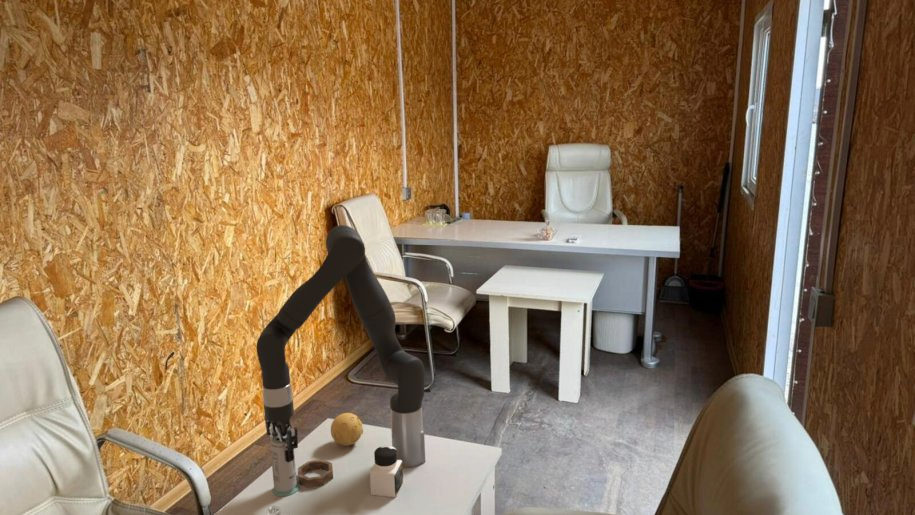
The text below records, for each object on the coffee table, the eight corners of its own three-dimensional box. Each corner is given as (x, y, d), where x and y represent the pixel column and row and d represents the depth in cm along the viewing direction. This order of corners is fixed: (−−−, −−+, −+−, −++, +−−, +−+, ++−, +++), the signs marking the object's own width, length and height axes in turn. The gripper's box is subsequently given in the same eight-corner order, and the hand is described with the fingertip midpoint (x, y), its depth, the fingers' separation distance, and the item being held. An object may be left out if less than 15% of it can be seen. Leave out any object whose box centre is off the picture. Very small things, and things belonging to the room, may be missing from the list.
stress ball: (331, 443, 194) (321, 437, 185) (342, 413, 198) (333, 405, 189) (360, 451, 192) (351, 446, 183) (370, 421, 196) (362, 414, 187)
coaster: (299, 479, 173) (299, 478, 173) (299, 494, 166) (299, 492, 166) (273, 483, 172) (273, 482, 171) (272, 498, 165) (272, 496, 165)
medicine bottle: (395, 498, 164) (394, 457, 161) (370, 495, 165) (368, 455, 163) (403, 482, 171) (401, 443, 168) (379, 480, 172) (377, 441, 169)
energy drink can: (296, 492, 166) (292, 442, 163) (273, 496, 165) (269, 445, 162) (296, 480, 172) (293, 431, 169) (274, 483, 171) (270, 434, 168)
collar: (332, 465, 180) (331, 458, 179) (333, 484, 171) (333, 476, 170) (298, 470, 178) (297, 462, 177) (298, 489, 168) (297, 481, 168)
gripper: (304, 403, 160) (309, 460, 164) (278, 387, 171) (283, 441, 174) (278, 413, 155) (284, 472, 159) (252, 395, 166) (258, 451, 169)
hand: (283, 455), depth 167 cm, fingers open, 6 cm apart
